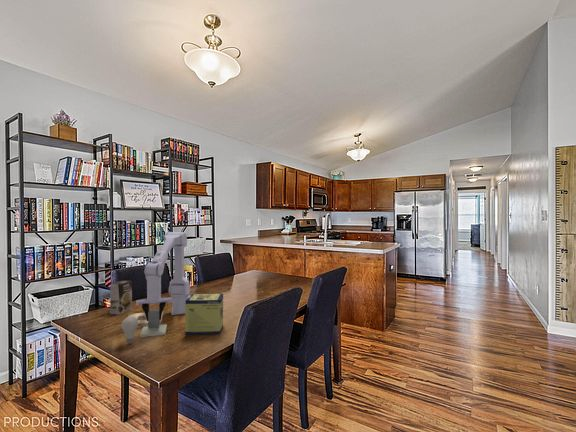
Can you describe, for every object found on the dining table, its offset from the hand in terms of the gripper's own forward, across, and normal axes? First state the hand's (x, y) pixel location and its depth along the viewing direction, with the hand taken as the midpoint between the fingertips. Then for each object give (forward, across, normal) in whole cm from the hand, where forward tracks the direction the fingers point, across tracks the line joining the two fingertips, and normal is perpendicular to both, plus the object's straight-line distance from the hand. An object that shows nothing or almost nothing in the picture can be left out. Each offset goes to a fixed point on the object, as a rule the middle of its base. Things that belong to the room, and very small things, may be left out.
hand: (154, 319), depth 138 cm
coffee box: (+6, -20, +35) cm, 41 cm away
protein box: (+6, +22, -5) cm, 23 cm away
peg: (+3, 0, 0) cm, 3 cm away
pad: (+5, 0, 0) cm, 5 cm away
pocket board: (+5, -6, +15) cm, 17 cm away
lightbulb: (+6, -8, -11) cm, 15 cm away
